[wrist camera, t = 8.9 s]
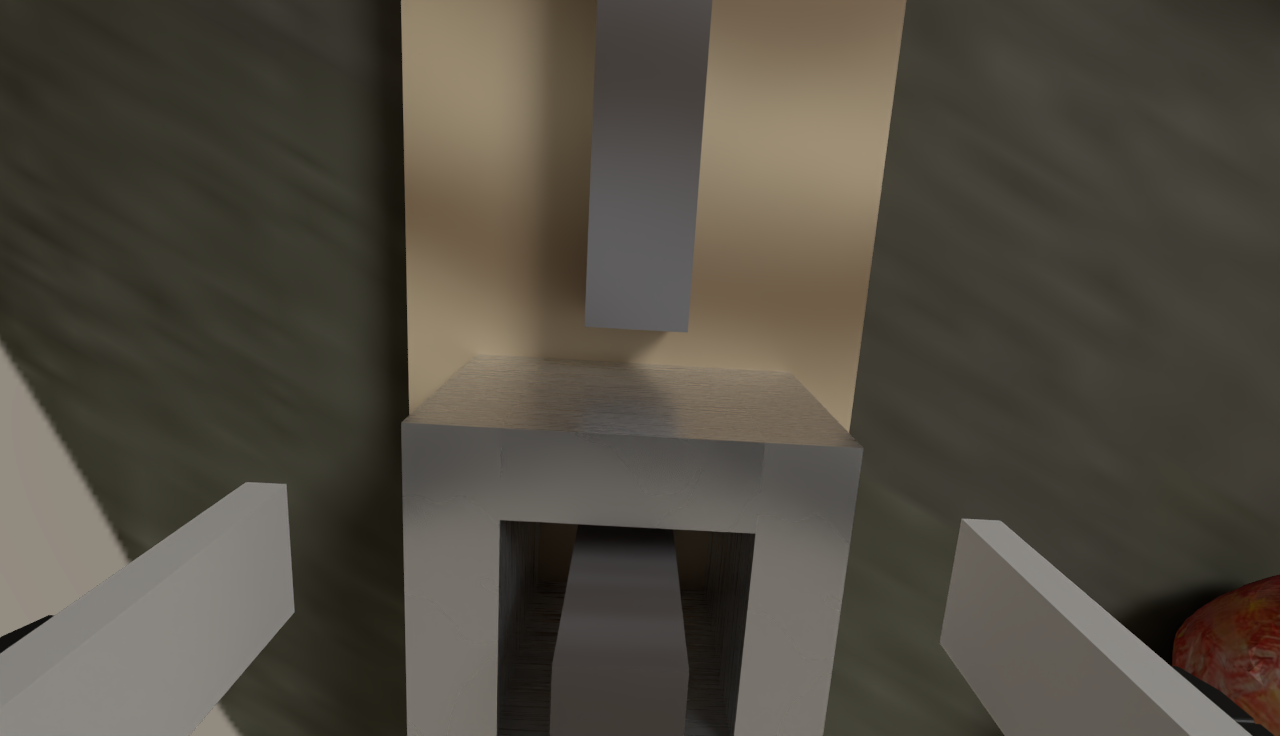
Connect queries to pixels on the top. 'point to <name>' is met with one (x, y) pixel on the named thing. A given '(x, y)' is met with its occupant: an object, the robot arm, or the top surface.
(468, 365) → the grey square socket block
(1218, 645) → the pomegranate
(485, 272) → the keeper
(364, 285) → the top surface
